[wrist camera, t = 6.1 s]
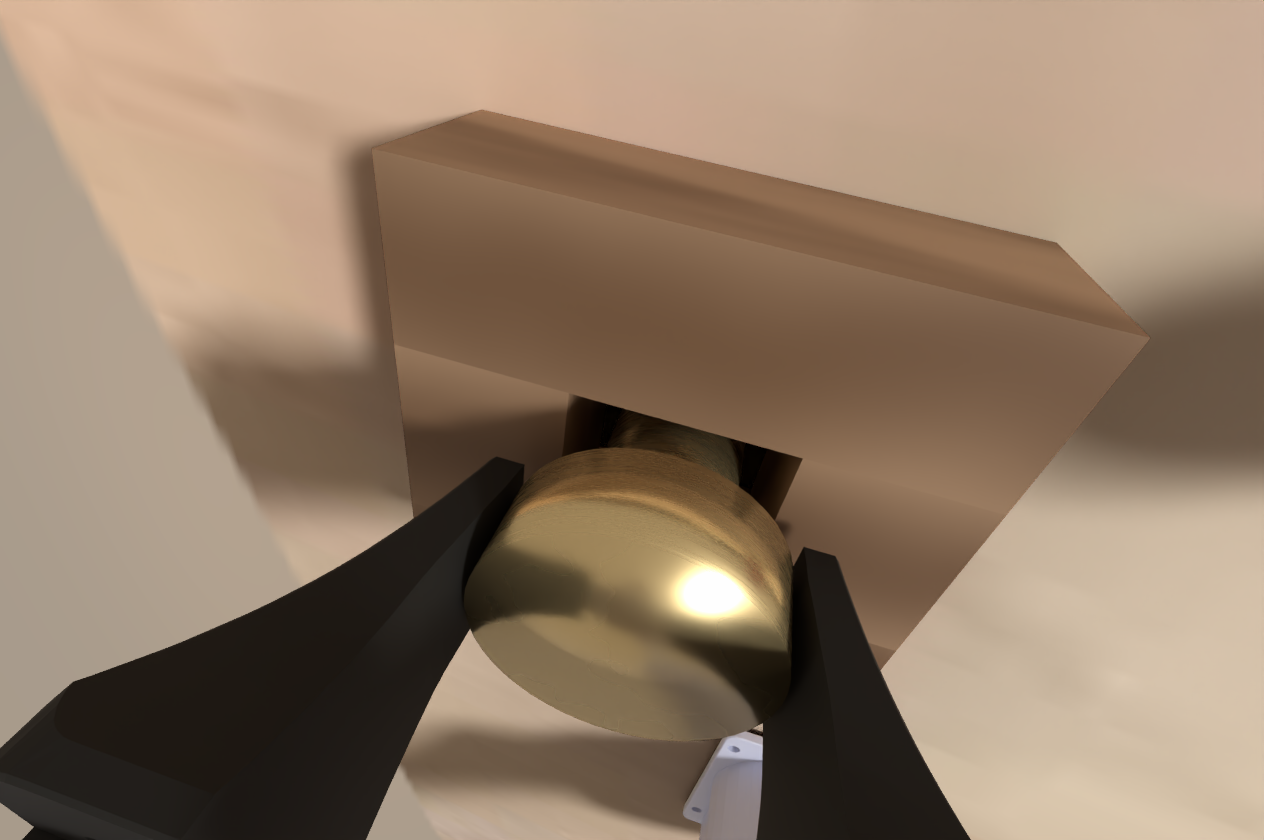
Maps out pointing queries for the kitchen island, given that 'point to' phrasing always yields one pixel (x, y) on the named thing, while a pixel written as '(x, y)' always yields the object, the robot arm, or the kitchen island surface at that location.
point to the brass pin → (641, 587)
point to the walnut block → (738, 339)
